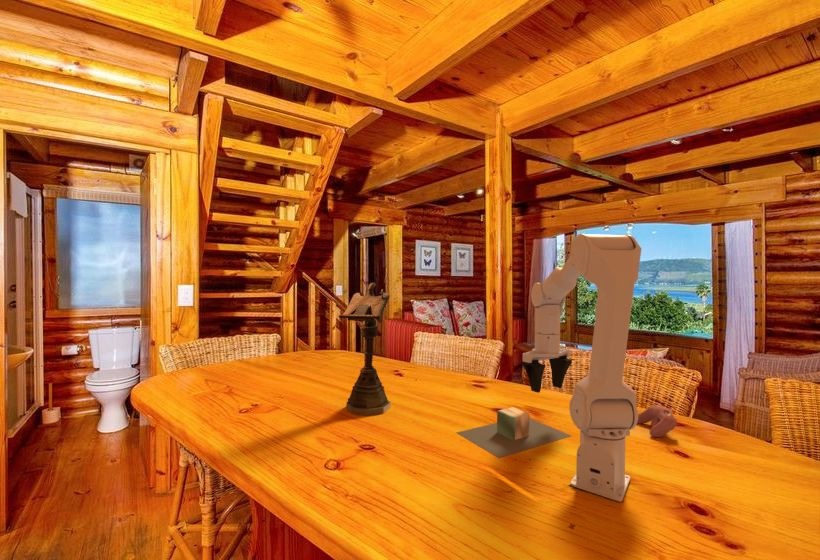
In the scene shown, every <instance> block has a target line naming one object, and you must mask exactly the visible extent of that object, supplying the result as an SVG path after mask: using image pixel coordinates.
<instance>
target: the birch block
mask: <svg viewBox="0 0 820 560" xmlns="http://www.w3.org/2000/svg"><path fill="white" fill-rule="evenodd" d="M496 412H497V413H496V423H497V433H499V434H501V435H503V436H505V437H507V438H509V439H511V440H517V439H520V438H524V437H527V436H529V418H530V413H528V412H526V411H523V410H521V409H519V408H516V407H514V406H513V407H509V408H503V409H499V410H496Z"/></svg>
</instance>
